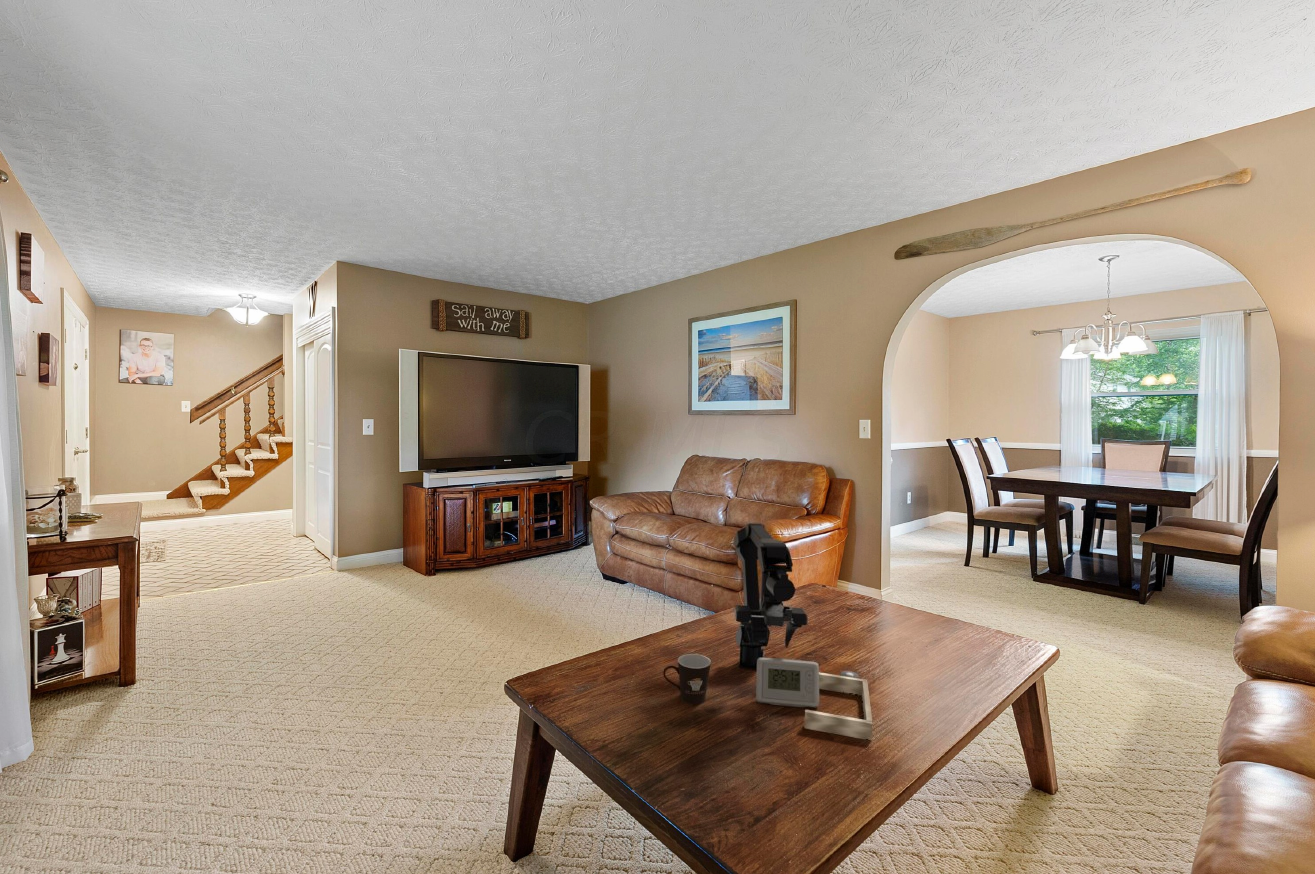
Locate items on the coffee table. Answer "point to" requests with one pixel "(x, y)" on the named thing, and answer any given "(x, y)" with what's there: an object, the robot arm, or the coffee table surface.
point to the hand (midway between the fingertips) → (768, 646)
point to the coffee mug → (692, 677)
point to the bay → (837, 722)
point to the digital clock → (787, 682)
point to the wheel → (849, 674)
